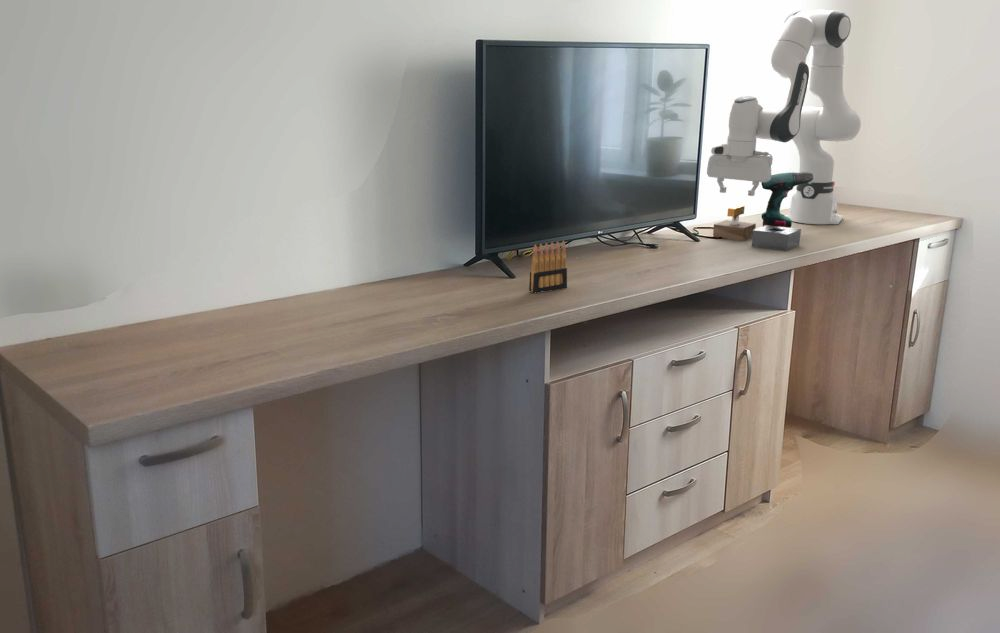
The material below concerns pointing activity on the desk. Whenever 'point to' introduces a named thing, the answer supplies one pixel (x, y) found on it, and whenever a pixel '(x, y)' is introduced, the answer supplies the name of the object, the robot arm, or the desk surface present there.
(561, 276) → the ammunition clip
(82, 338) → the desk surface
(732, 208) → the block
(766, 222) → the power drill
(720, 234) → the wooden square hole block
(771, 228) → the block
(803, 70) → the robot arm
